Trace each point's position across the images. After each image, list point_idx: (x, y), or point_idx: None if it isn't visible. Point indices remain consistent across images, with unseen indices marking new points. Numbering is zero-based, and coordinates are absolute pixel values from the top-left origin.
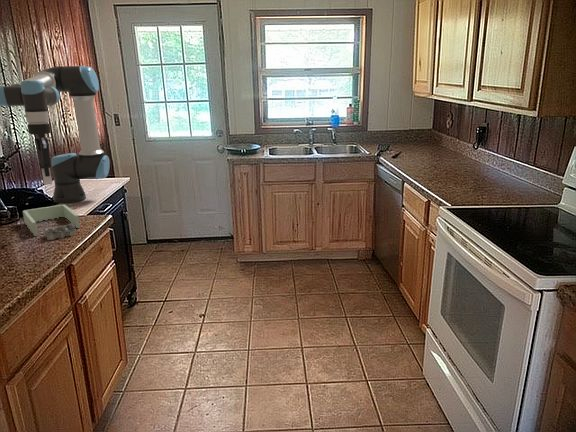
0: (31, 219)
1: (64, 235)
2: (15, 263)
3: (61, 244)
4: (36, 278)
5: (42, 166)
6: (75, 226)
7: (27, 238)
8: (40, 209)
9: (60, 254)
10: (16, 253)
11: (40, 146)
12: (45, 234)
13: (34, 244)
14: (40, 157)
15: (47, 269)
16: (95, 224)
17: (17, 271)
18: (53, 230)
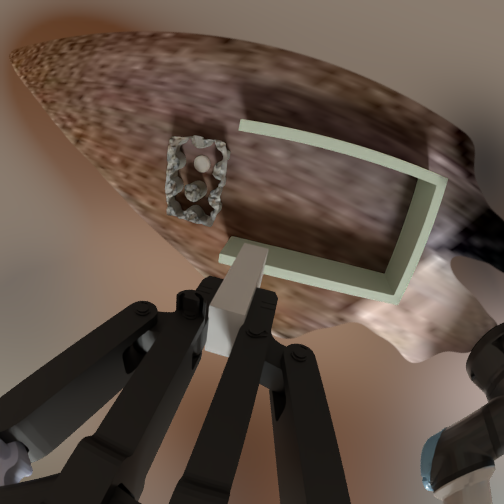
0: (291, 134)
1: (180, 180)
2: (91, 50)
3: (129, 150)
4: (28, 82)
5: (181, 314)
6: (243, 240)
7: (248, 99)
8: (420, 229)
9: (78, 130)
10: (142, 53)
11: (55, 475)
12: (194, 136)
13: (175, 98)
14: (212, 400)
15: (41, 98)
16: None
17: (60, 55)
18: (214, 167)
